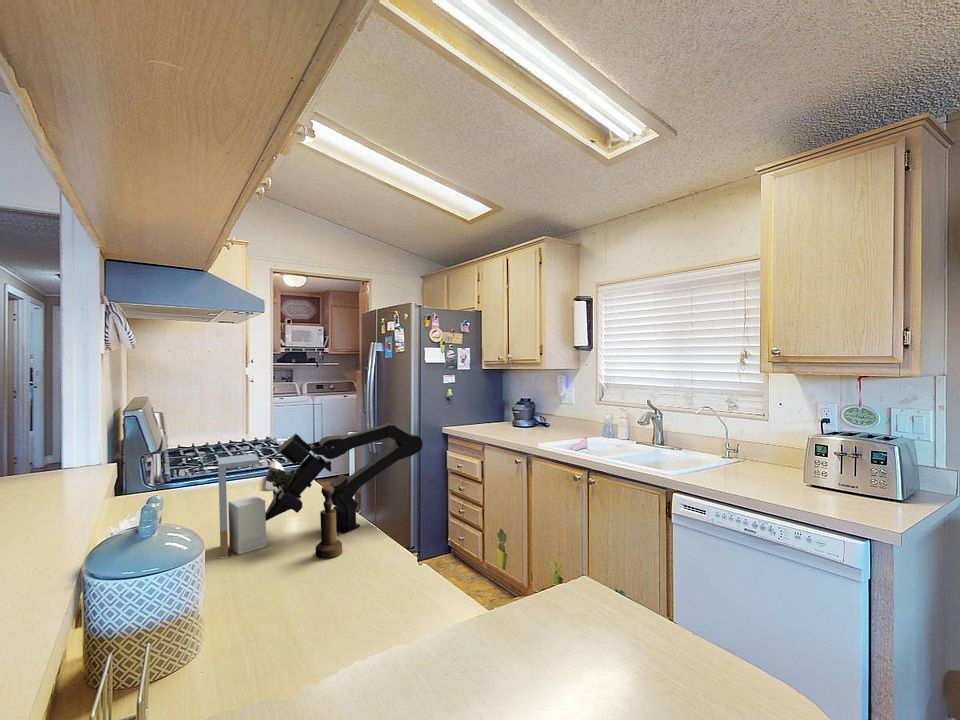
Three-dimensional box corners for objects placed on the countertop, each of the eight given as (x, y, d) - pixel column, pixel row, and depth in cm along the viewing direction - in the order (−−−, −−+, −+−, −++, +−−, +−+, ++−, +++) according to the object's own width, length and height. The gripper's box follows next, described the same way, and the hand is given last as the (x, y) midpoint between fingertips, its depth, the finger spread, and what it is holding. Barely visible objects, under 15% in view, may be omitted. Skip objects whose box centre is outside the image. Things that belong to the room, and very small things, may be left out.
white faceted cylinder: (261, 468, 203) (259, 482, 181) (277, 458, 206) (277, 471, 184) (271, 482, 205) (270, 498, 183) (287, 472, 207) (287, 486, 185)
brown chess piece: (334, 546, 130) (333, 480, 129) (347, 553, 125) (345, 484, 125) (311, 554, 125) (309, 485, 125) (322, 561, 120) (321, 490, 120)
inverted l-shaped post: (258, 539, 136) (256, 453, 135) (261, 550, 128) (258, 459, 127) (220, 546, 131) (218, 457, 130) (221, 558, 123) (218, 464, 123)
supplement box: (267, 546, 130) (266, 500, 130) (238, 555, 125) (236, 507, 124) (257, 539, 135) (255, 494, 135) (228, 547, 130) (227, 501, 130)
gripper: (279, 450, 142) (238, 493, 137) (288, 463, 126) (242, 512, 121) (307, 473, 146) (269, 516, 141) (320, 488, 130) (277, 537, 125)
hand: (264, 519), depth 132 cm, fingers closed
